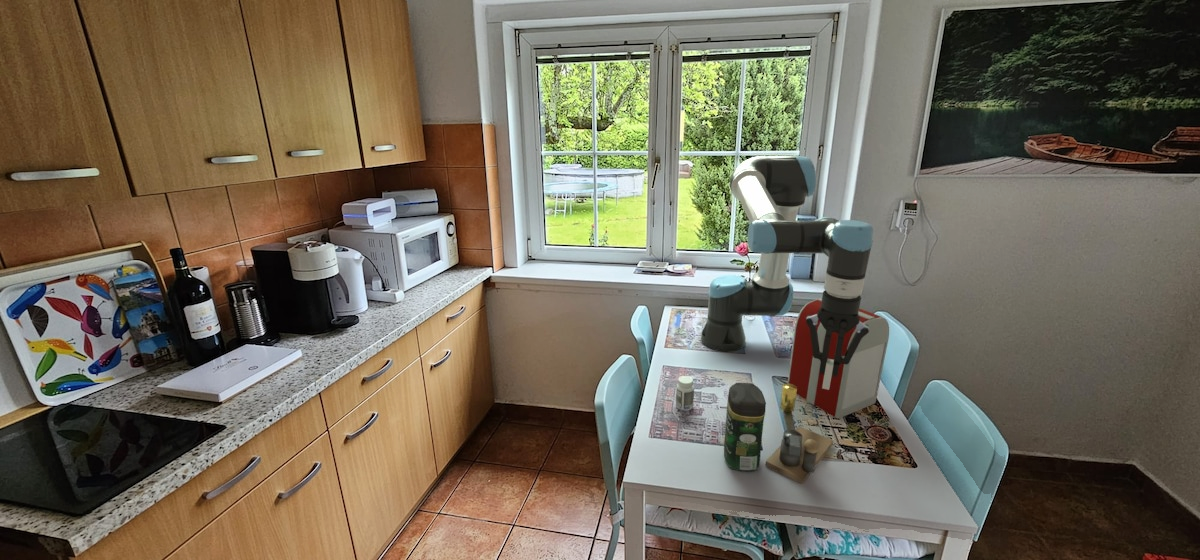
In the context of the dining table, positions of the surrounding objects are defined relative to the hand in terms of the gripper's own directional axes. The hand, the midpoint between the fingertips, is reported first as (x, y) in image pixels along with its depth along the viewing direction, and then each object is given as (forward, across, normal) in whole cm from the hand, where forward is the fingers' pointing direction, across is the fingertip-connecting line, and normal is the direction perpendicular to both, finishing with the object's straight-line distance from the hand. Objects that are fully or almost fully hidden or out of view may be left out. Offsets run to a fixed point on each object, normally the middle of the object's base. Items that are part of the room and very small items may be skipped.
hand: (826, 386), depth 114 cm
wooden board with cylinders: (+16, -3, -7) cm, 17 cm away
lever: (+10, -6, -7) cm, 14 cm away
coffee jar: (+16, -15, -14) cm, 26 cm away
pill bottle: (+17, -34, +1) cm, 38 cm away
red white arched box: (+17, +2, +24) cm, 30 cm away
